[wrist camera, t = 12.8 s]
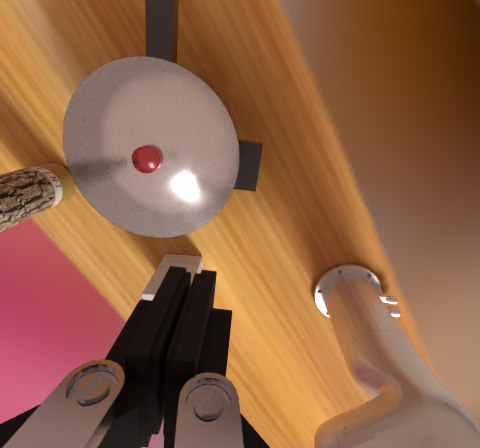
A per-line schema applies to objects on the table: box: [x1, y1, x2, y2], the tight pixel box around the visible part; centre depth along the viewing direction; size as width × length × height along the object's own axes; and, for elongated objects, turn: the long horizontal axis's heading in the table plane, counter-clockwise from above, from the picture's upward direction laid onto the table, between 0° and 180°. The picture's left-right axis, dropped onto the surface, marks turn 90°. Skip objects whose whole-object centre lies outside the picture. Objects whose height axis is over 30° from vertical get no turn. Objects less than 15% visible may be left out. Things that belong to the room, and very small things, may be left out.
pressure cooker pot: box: [146, 0, 262, 191], centre depth 39 cm, size 23×30×12 cm
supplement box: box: [142, 254, 203, 300], centre depth 50 cm, size 7×7×13 cm
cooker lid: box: [63, 56, 240, 238], centre depth 34 cm, size 21×21×4 cm
